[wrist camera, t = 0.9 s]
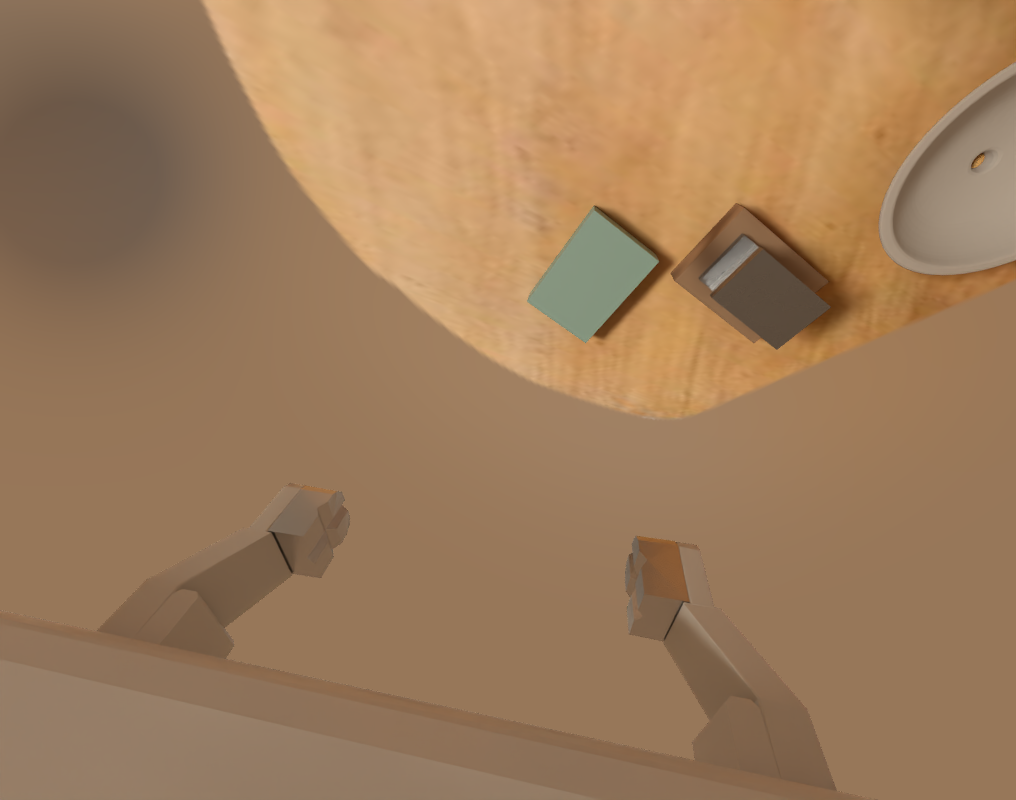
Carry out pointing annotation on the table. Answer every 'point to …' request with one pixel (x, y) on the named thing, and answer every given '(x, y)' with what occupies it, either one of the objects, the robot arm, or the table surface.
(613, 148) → the table surface
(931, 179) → the dish
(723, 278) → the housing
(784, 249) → the stand
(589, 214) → the stand
